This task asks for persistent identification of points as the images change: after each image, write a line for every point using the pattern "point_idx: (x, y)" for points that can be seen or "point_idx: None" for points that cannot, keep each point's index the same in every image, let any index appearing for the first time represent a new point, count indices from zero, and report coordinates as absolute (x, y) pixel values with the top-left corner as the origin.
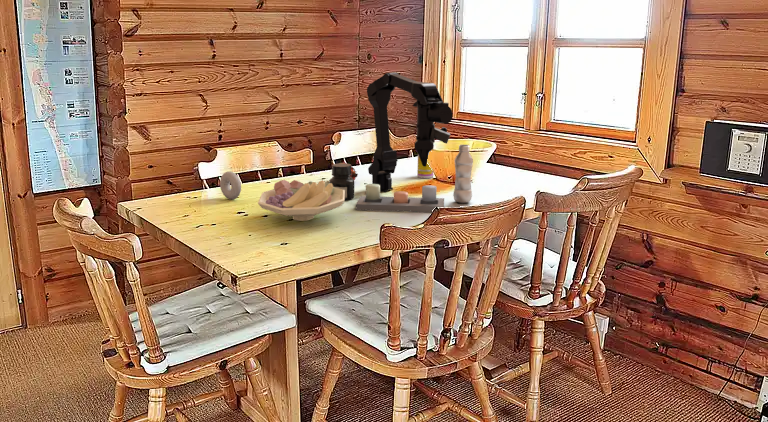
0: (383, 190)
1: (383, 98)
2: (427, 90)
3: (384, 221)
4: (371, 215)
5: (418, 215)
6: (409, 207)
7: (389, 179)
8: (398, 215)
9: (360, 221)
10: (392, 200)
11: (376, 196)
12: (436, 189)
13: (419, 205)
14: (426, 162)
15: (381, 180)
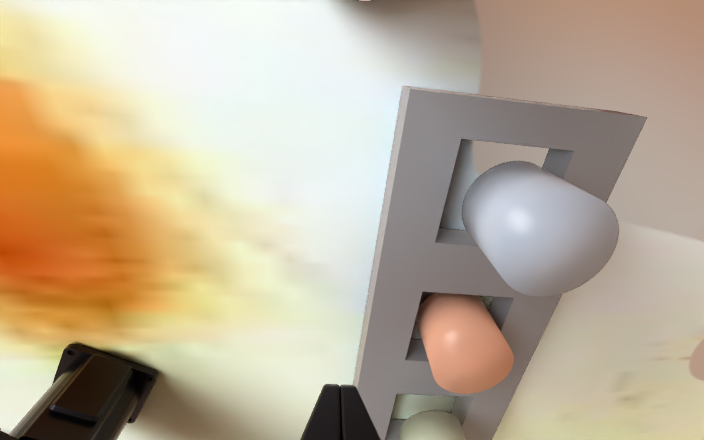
0: (147, 380)
1: None
2: None
3: (661, 358)
4: (561, 395)
5: (622, 243)
6: None
7: (85, 411)
8: (592, 317)
9: (628, 417)
10: (419, 357)
11: (462, 433)
12: (572, 187)
13: None
14: (378, 437)
15: (110, 435)
